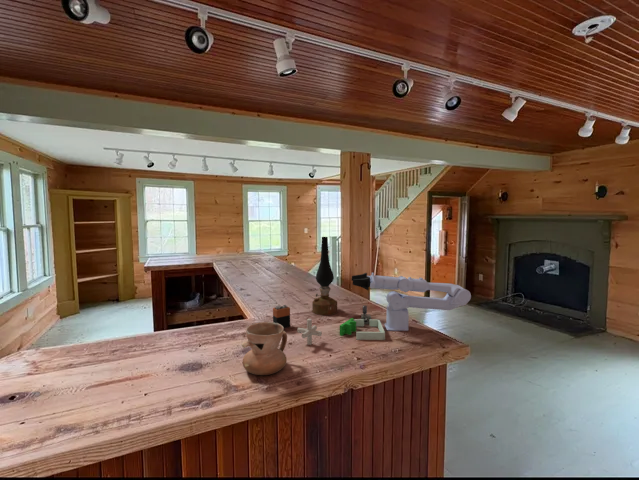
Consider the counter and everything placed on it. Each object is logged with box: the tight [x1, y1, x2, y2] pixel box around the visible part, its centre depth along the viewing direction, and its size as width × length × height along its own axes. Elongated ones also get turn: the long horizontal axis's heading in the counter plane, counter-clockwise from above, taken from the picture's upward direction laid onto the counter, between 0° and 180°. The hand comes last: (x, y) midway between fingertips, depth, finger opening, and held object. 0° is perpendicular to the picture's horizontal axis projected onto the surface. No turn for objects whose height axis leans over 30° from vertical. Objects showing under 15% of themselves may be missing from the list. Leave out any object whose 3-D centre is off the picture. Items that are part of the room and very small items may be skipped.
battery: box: [272, 304, 291, 329], centre depth 145 cm, size 4×7×10 cm, turn 125°
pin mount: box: [360, 313, 372, 326], centre depth 150 cm, size 3×4×4 cm
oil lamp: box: [311, 236, 339, 316], centre depth 168 cm, size 14×15×40 cm
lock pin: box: [362, 305, 368, 321], centre depth 153 cm, size 8×2×5 cm, turn 178°
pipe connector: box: [296, 318, 323, 346], centre depth 127 cm, size 10×10×10 cm
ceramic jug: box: [241, 321, 288, 376], centre depth 107 cm, size 18×14×14 cm
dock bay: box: [354, 318, 386, 341], centre depth 139 cm, size 12×16×3 cm
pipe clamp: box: [339, 317, 357, 337], centre depth 139 cm, size 11×4×5 cm, turn 147°
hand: (352, 280), depth 143 cm, fingers open, 7 cm apart
